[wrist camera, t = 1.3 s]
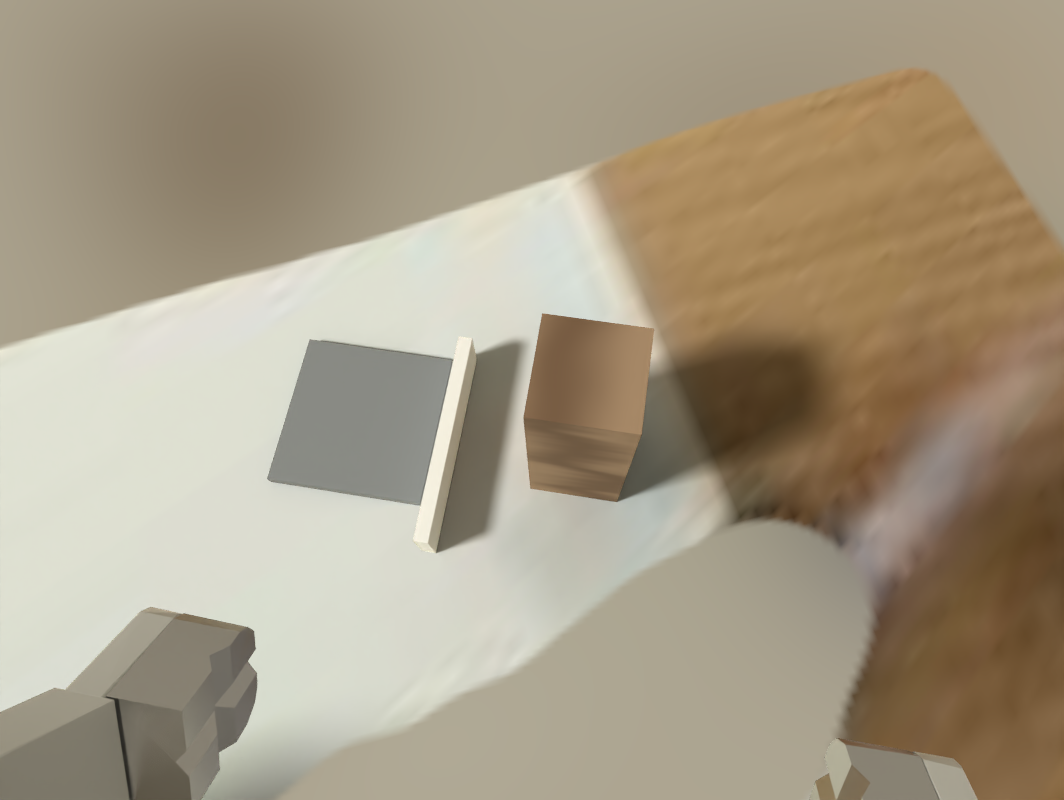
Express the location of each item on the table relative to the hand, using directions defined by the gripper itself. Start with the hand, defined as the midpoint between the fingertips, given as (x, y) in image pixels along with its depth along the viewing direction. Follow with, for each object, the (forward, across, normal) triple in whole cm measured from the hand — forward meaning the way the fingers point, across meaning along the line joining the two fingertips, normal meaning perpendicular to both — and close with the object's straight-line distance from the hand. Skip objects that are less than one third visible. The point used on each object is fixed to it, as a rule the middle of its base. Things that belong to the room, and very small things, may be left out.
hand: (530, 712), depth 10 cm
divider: (+30, +7, +12) cm, 33 cm away
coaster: (+30, +13, +12) cm, 35 cm away
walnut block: (+30, 0, +12) cm, 33 cm away
